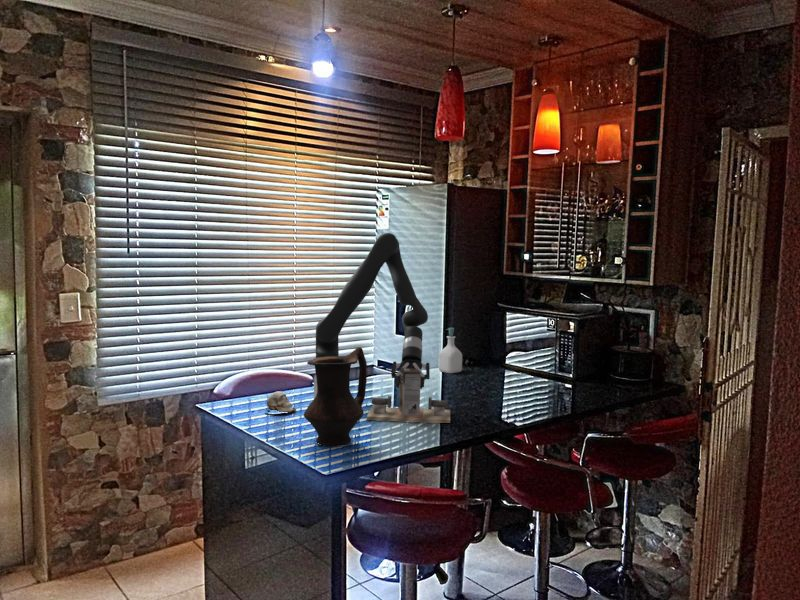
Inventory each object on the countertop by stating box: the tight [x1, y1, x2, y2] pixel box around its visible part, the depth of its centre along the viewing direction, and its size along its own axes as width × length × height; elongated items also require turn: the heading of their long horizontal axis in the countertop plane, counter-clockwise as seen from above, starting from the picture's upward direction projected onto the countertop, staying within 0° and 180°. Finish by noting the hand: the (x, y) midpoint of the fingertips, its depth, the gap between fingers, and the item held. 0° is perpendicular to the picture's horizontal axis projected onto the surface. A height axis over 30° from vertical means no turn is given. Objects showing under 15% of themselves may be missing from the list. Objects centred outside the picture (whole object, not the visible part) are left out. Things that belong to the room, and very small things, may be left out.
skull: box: [266, 391, 297, 414], centre depth 233 cm, size 12×10×10 cm
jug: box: [303, 346, 368, 447], centre depth 195 cm, size 21×18×30 cm
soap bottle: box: [438, 327, 463, 374], centre depth 316 cm, size 10×10×23 cm
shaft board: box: [366, 395, 451, 424], centre depth 228 cm, size 30×14×8 cm, turn 85°
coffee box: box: [398, 367, 421, 416], centre depth 228 cm, size 9×6×16 cm
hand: (409, 387), depth 226 cm, fingers open, 8 cm apart
